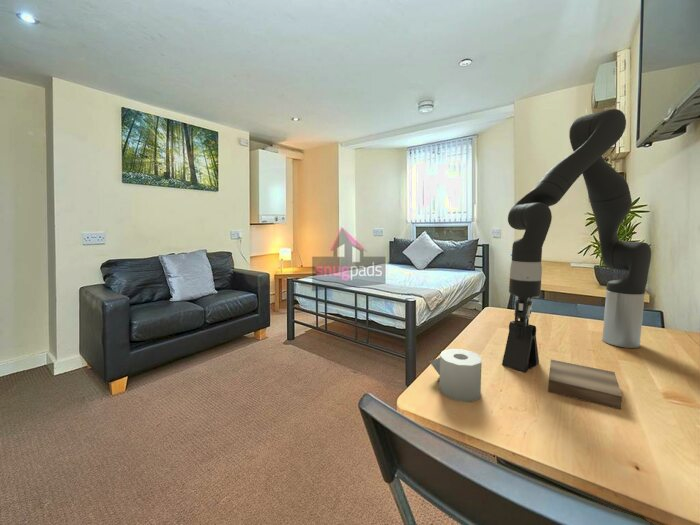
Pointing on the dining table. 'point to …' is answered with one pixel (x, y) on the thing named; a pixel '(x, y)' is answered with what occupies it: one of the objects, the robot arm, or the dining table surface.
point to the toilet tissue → (459, 374)
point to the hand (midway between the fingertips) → (521, 334)
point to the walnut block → (585, 384)
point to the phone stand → (521, 349)
